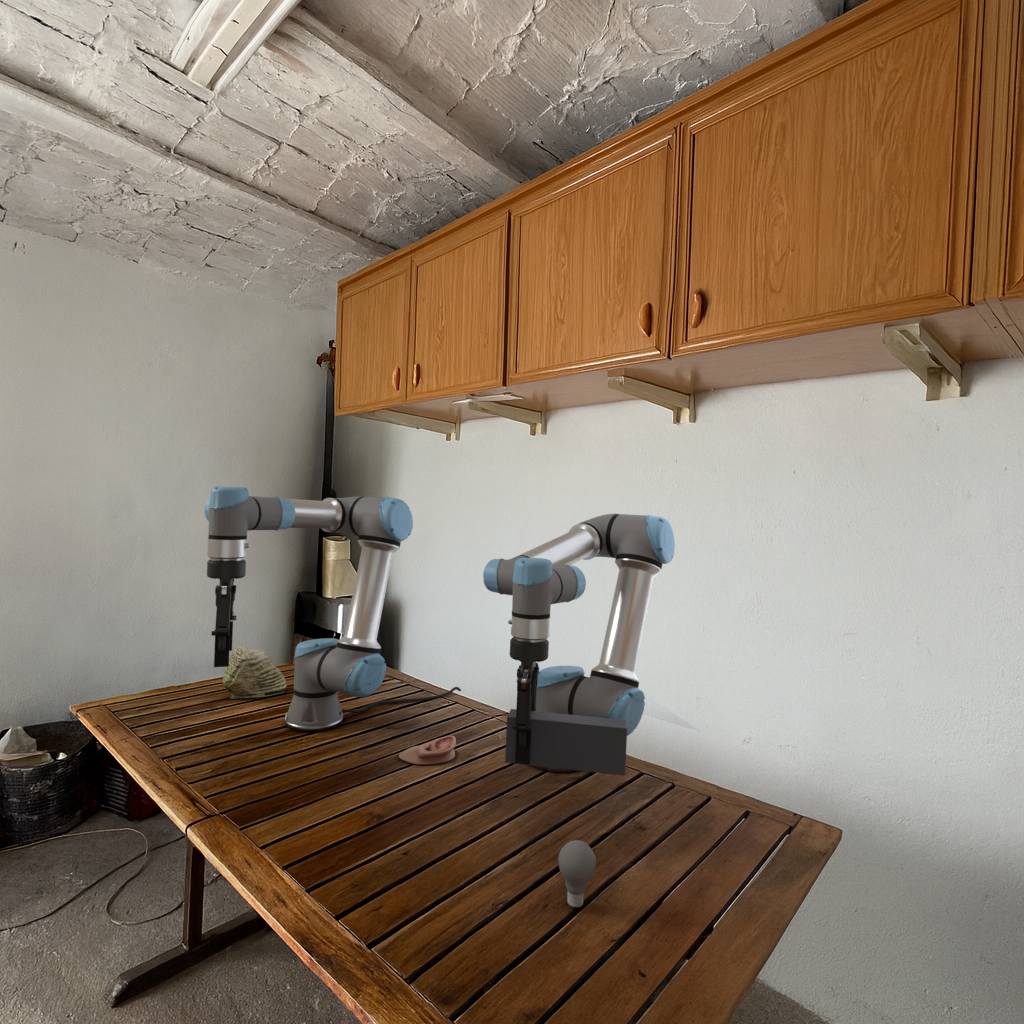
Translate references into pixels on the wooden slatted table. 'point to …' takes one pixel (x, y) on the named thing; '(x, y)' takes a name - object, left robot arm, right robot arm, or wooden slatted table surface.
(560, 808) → the wooden slatted table surface
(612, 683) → the right robot arm
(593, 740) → the bar
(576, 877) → the light bulb
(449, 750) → the anatomical model
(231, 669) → the fossil
